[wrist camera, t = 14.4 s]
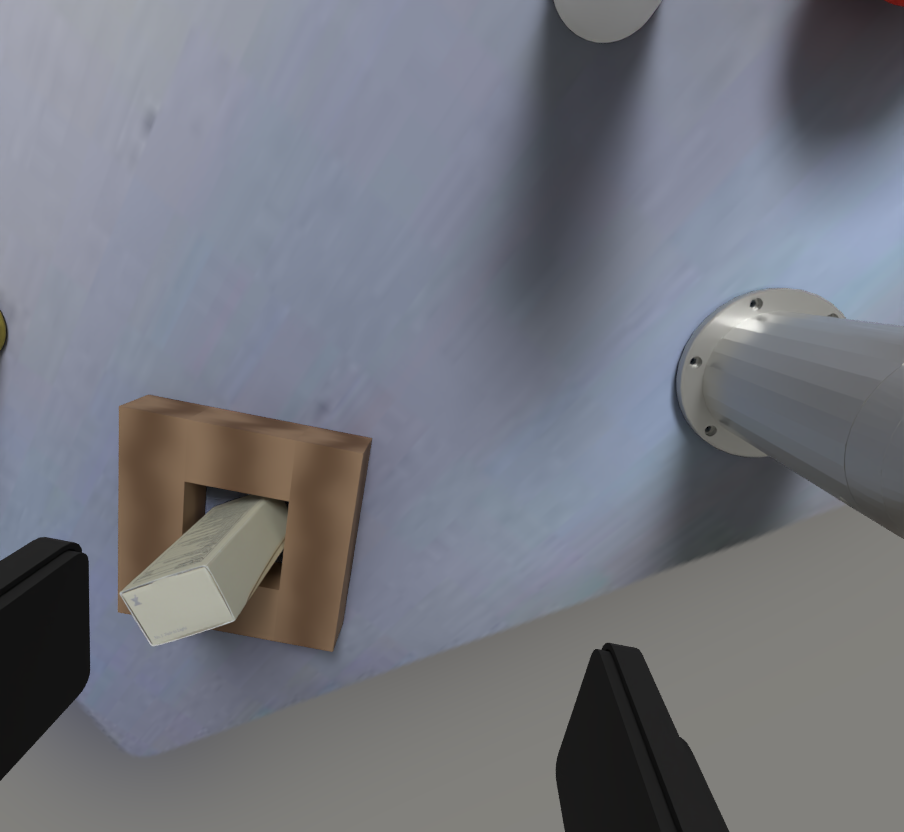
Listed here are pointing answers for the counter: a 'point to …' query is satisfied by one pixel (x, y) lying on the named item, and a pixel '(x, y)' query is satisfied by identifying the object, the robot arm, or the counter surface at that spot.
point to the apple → (896, 2)
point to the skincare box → (208, 570)
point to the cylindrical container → (605, 17)
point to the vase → (2, 331)
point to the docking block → (253, 472)
